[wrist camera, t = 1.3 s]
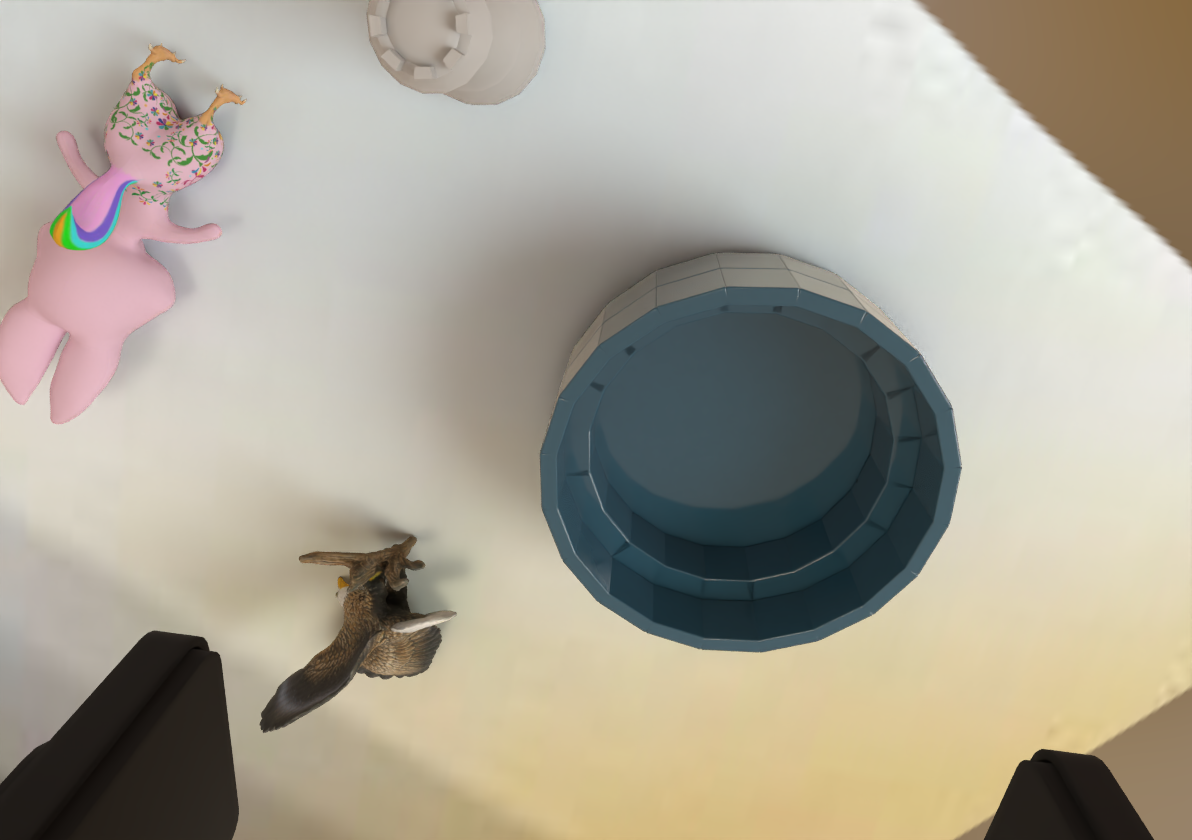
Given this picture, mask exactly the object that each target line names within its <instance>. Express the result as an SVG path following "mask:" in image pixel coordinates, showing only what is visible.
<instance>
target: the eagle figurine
mask: <svg viewBox="0 0 1192 840" xmlns="http://www.w3.org/2000/svg"><path fill="white" fill-rule="evenodd" d="M416 541H417V539H416V537H414V536H412V537H409V538H408V539H407V540H406V541H405V542H404V543H402V544H399V545H398V544H395V545H393V546H392V547H391V548H385V549H384V550H380V551H377V552H371V553H366V554H365V553H341V552H312V553H309V554H306V555H302V556H300V557H299V560H300V562H302V563H315V564H322V565H344V566H346V567H348V568H350V585H348V584H347V583H346V582H345V581H344V580H343V579H342V577H339V578H338V592H337V593H336V598H337V599H338V601H339V603H340V605H341V606H342V607H343V609H344V611H345V614H344V624H343V627H342V629H341V630H340V632H339V634H338V636H337V637H336V639H335V640H334V641H333V642H332V643H331V645H330V646H328V647H327V648H326V649H324V650H323V651H321V652H319V653H318V654H317V655H315V656H314V657H313V658H312V660H311V661H310V662H309V663H308V664H307V665H306V666H305V667H304V668H303V669H300V670H298V671H297V672H295V673H294V674H292V675H291V676H290V677H288V678H287V679H286V680H285V681H284V682H283V683H282V684H281V685H280V686H279V687H278V689H277V691H276V694H275V695H274V696H273V697H272V698H271V700H270V701H269V703H268V704H267V706H266V708H265V709H264V710H263V711H262V713H261V716H262V720H261V722H260V726H261V730H263V733H266V732H268V731H273V730H278V729H280V728H281V727H285V726H287V725H289V724H291V723H293V722H294V721H296V720H297V719H299V718H301V717H303V716H304V715H306V714H308V713H309V712H311V711H312V710H314V709H316V708H318V707H320V706H321V705H323V704H324V703H326V702H328V701H329V700H330V699H332V698H333V697H335V696H336V695H337V694H338V693H339V692H340V691H341V690H342V689H344V688H345V687H346V686H347V685H348V684H349V682H350V681H351V680H352V679H353V677H354V675H355V674H356V672H357V673H361V674H362V673H365V674H366V675H367V676H368V677H371V678H374V677H377V676H380V677H381V678H382V679H389V678H391V677H392V676H396V677H398V678H402V677H403V676H407V677H411V676H415V675H418V674H419V673H423V672H424V671H426V670H427V669H428V668H429V666H430V664H431V663H432V659H433V657H434V655H435V653H436V651H435V650H436V649H437V648H438V647H439V644H440V643H441V641H442V640H441V637H442V636H441V634H440V631H441V630H440V628H437V626H432V625H436V624H439V623H442V622H445V621H448V620H450V619H452V618H453V617H455V616H456V615H457V613H456V612H452V611H438V612H433V613H429V614H426V615H423V614H419V613H411V612H410V609H409V606H408V602H407V586H406V585H407V584H408V582H409V580H408V579H407V575H406V574H405V568H408V569H410V570H420V569H423V568H424V567H425V564H424V562H422V561H420V560H417V561H414V562H412V561H409V560H408V559H407V558H406V556H407V555H408V554H409V553H410V550H411V548H412V547H413V546H414V544H415V543H416ZM385 579H387V583H386V582H385ZM385 584H386V586H385ZM362 585H363V587H364V589H365V590H360V589H357V588H358V587H360V586H362ZM430 626H431V627H430Z"/></svg>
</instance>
